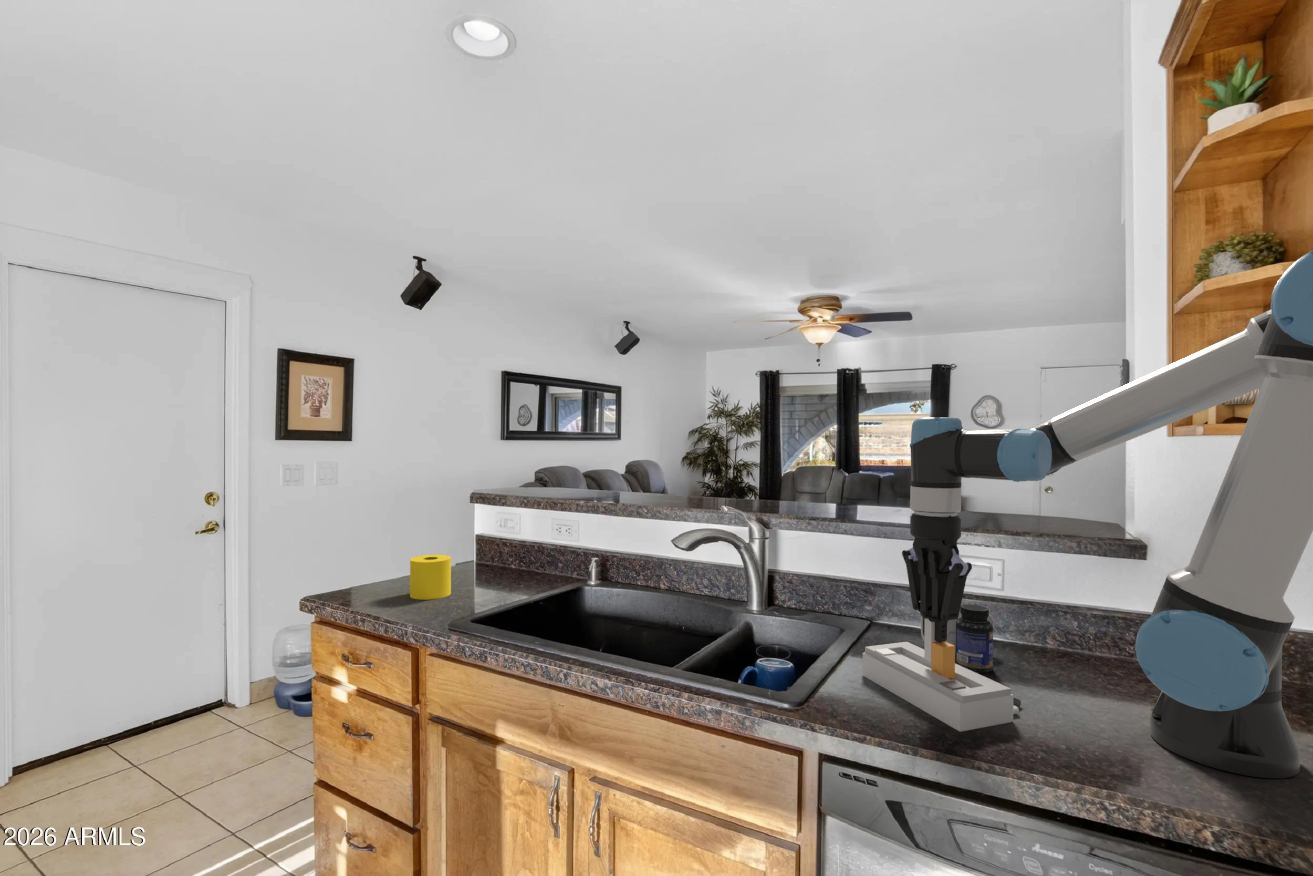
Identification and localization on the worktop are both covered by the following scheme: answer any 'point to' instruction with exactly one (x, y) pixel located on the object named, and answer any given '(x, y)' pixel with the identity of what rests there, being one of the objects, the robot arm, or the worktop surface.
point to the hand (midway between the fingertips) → (934, 659)
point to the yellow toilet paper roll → (430, 577)
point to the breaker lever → (943, 659)
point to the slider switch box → (938, 687)
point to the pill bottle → (974, 639)
